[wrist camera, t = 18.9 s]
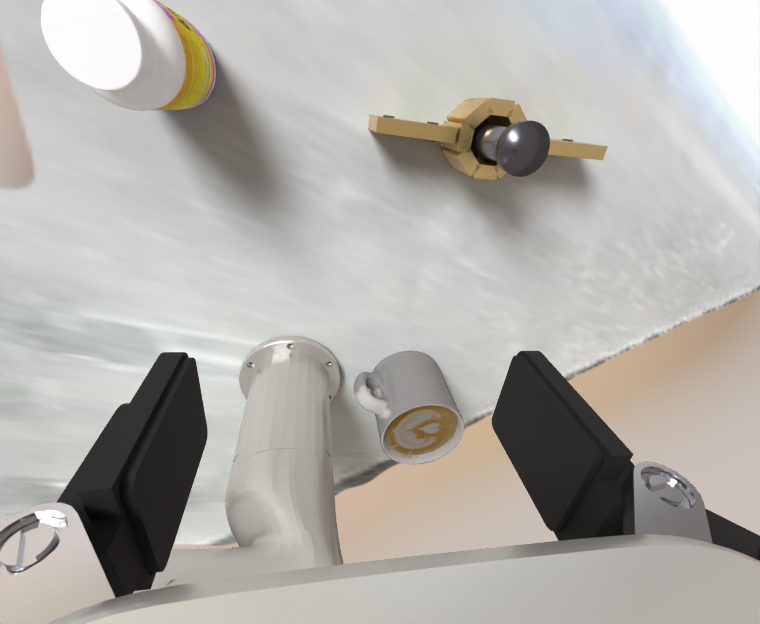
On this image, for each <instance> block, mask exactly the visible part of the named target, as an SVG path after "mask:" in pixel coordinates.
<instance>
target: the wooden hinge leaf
mask: <svg viewBox="0 0 760 624" xmlns="http://www.w3.org/2000/svg"><path fill="white" fill-rule="evenodd" d="M368 129H370V130H372V131H374V132H376V133H382V134H388V135H397V136H404V137H411V138H419V139H424V140H425V141H431V142H435V141H440V142H447V143H455V140H456V135H457V130H458V128H454V127H448V126H442V125H438V123H434V122H427V123H422V122H416V121H409V120H402V119H395V118H394V116H387V115H383V117H382V116H375V115H370V119H369V128H368Z"/></svg>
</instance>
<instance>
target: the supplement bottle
mask: <svg viewBox="0 0 760 624" xmlns="http://www.w3.org/2000/svg"><path fill="white" fill-rule="evenodd" d="M41 25H42V30H43V34H44V37H45V40H46V43H47V45H48V47H49V49H50V51H51V52H52V54H53V55H54V57H55V58H56V60H57V61H58V62H59V64H60V65H61V66H62V67H63V68H64V69H65V70H66V71H67V72H68V73H69V74H70V75H71V76H73V77H74V78H75V79H77V80H78V81H80V82H81V83H83V84H85V85H87V86H89V87H90V88H91V89H92V90H93V91H94V92H96V93H97V94H98V95H100V96H101V97H102V98H104V99H106V100H107V101H109V102H111V103H113V104H115V105H118V106H121V107H123V108H127V109H131V110H139V111H146V110H182V109H190V108H194V107H196V106H198V105H200V104H202V103H203V102H204V101H205V100H206V99H207V98H208V97H209V96H210V94H211V92H212V90H213V88H214V85H215V79H216V67H215V61H214V57H213V54H212V52H211V49H210V47H209V45H208V43H207V41H206V40H205V38H204V37H203V36H202V34H201V33H200V32H199V31H198V30H197V28H195V27H194V26H193V25H192V24H191V23H190V22H188V21H187V20H186V19H184V18H183V17H181V16H180V15H178V14H177V13H175V12H174V11H172V10H170V9H169V8H167V7H166V6H164V5H163V4H161V3H159V2H158V1H156V0H44V3H43V6H42V11H41Z"/></svg>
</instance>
